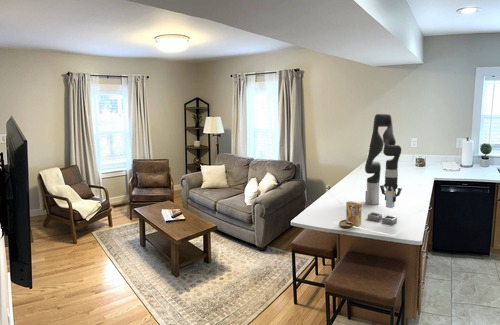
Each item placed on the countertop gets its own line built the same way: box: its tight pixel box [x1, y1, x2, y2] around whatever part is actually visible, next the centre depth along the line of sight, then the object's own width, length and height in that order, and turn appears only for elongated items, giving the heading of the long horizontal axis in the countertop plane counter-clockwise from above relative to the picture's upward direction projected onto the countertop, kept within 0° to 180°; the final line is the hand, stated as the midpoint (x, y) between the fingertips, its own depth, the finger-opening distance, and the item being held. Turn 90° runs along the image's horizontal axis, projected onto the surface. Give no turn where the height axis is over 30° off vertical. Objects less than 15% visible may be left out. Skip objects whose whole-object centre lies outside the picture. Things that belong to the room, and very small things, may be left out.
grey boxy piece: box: [365, 211, 399, 226], centre depth 230 cm, size 18×12×4 cm, turn 47°
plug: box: [385, 190, 396, 209], centre depth 224 cm, size 4×4×11 cm
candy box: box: [345, 200, 362, 228], centre depth 225 cm, size 9×4×15 cm, turn 50°
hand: (390, 201), depth 224 cm, fingers closed on plug, 4 cm apart
